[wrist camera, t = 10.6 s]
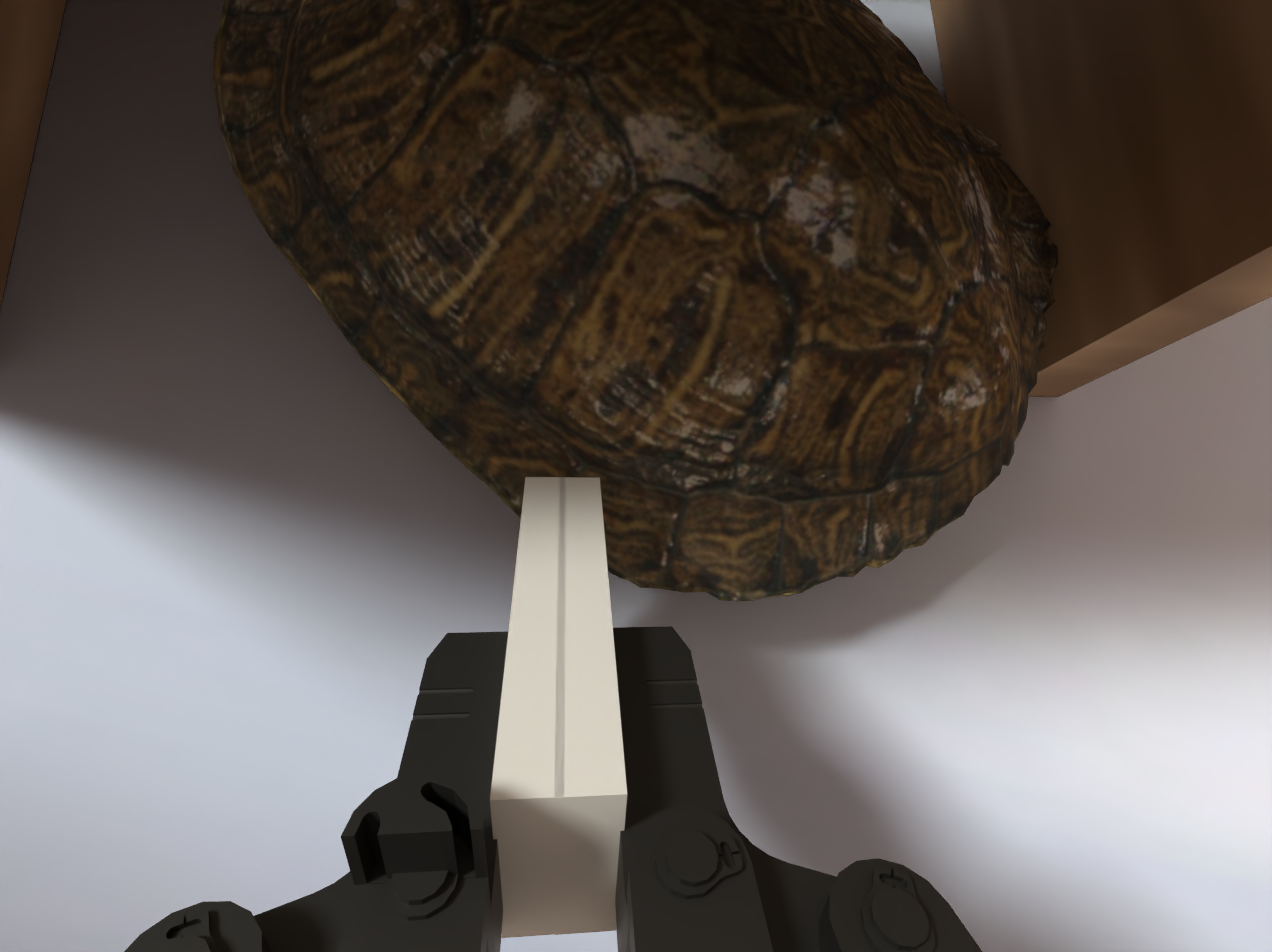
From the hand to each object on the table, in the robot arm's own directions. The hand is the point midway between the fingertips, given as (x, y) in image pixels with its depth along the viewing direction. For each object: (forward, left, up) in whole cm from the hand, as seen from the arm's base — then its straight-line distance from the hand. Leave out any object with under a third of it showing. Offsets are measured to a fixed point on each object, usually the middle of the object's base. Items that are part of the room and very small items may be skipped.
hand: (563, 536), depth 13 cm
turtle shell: (+3, +8, -4) cm, 9 cm away
